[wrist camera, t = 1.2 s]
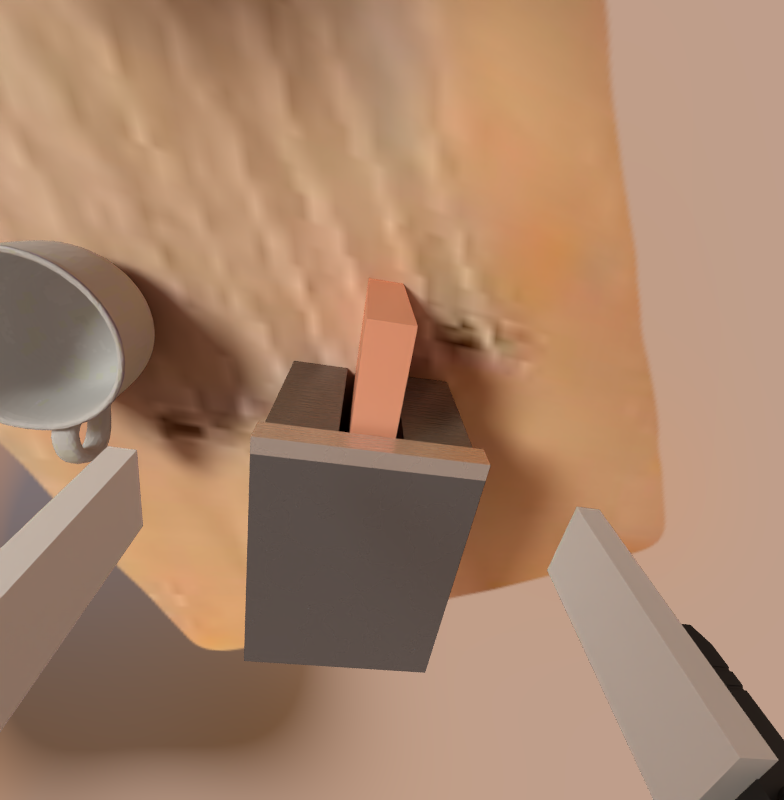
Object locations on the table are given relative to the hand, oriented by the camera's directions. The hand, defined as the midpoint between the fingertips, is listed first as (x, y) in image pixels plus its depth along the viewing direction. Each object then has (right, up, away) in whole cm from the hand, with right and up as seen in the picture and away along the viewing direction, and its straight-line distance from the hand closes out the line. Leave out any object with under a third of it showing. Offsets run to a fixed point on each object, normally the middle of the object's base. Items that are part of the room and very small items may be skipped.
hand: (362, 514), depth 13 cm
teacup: (-20, +8, +18) cm, 29 cm away
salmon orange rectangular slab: (0, +7, +20) cm, 21 cm away
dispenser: (-2, -1, +24) cm, 24 cm away
